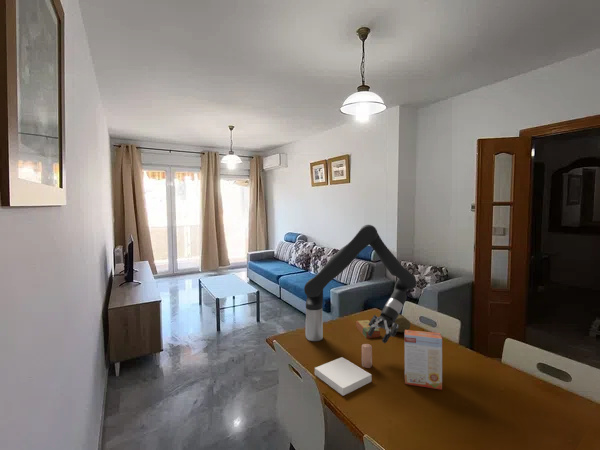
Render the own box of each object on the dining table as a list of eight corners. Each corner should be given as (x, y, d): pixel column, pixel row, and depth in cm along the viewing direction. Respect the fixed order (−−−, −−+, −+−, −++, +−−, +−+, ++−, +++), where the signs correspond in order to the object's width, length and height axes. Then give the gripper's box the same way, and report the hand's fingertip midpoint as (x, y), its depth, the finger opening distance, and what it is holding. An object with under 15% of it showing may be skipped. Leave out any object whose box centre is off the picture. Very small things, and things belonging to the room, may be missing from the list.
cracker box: (440, 382, 122) (440, 332, 120) (442, 390, 116) (442, 338, 115) (404, 376, 126) (404, 328, 125) (404, 384, 120) (404, 334, 119)
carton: (368, 326, 180) (369, 319, 180) (380, 337, 165) (380, 330, 164) (356, 327, 179) (356, 320, 179) (366, 338, 163) (366, 331, 163)
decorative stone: (377, 331, 172) (377, 314, 171) (383, 325, 181) (383, 309, 181) (407, 338, 162) (407, 320, 162) (412, 331, 172) (412, 314, 171)
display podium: (314, 374, 128) (314, 367, 128) (341, 363, 137) (341, 356, 137) (343, 395, 114) (342, 388, 113) (371, 381, 123) (371, 374, 122)
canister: (359, 364, 136) (359, 345, 135) (366, 361, 139) (366, 342, 138) (367, 369, 132) (367, 349, 132) (374, 365, 135) (374, 346, 134)
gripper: (376, 302, 148) (360, 329, 143) (400, 309, 137) (384, 340, 131) (383, 310, 152) (368, 337, 146) (407, 318, 140) (392, 348, 134)
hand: (376, 339), depth 138 cm, fingers open, 8 cm apart
